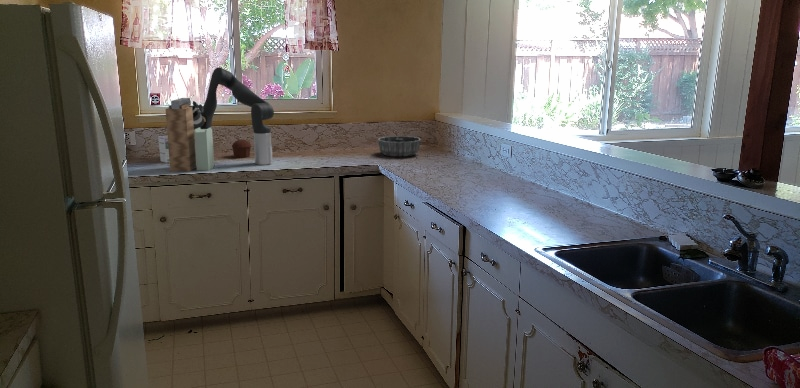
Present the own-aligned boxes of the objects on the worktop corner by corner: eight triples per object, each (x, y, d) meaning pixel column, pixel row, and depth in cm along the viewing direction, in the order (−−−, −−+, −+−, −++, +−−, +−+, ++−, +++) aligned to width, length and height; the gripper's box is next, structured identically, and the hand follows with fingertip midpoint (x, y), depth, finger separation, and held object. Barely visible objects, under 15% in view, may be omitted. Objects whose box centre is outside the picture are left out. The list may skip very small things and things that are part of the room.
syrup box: (166, 162, 335) (164, 136, 331) (160, 161, 338) (158, 135, 335) (175, 161, 339) (173, 135, 336) (169, 160, 343) (167, 134, 339)
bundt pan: (370, 156, 362) (370, 140, 360) (387, 150, 386) (388, 134, 384) (411, 160, 353) (411, 143, 350) (426, 153, 376) (427, 137, 374)
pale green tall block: (214, 166, 327) (212, 127, 322) (209, 170, 315) (206, 129, 310) (202, 166, 326) (200, 126, 321) (196, 170, 315) (193, 129, 310)
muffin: (247, 158, 350) (246, 141, 348) (229, 158, 352) (228, 140, 349) (255, 155, 361) (254, 138, 359) (237, 154, 363) (236, 138, 361)
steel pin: (190, 105, 324) (190, 97, 324) (179, 109, 305) (179, 101, 304) (183, 105, 324) (182, 97, 323) (171, 108, 305) (170, 100, 304)
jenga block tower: (196, 166, 324) (192, 103, 317) (190, 171, 313) (185, 106, 305) (177, 166, 324) (172, 103, 316) (170, 171, 312) (165, 105, 304)
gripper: (181, 109, 338) (172, 96, 322) (207, 109, 339) (199, 96, 323) (180, 121, 336) (171, 109, 320) (206, 121, 336) (198, 109, 321)
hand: (185, 102), depth 322 cm, fingers open, 8 cm apart
